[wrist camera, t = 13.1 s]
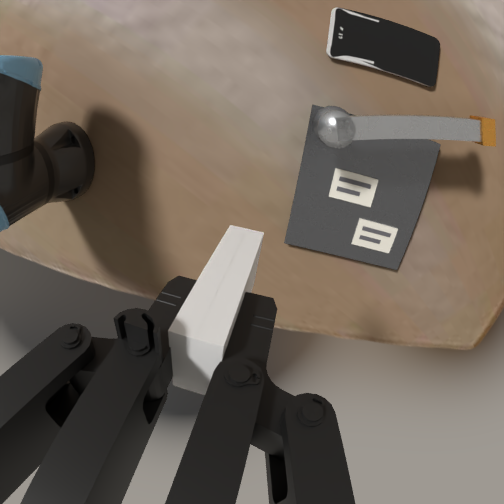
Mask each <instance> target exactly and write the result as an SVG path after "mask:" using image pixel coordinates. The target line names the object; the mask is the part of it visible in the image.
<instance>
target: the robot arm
mask: <svg viewBox="0 0 504 504" xmlns="http://www.w3.org/2000/svg"><path fill="white" fill-rule="evenodd" d="M42 71H43V65H42V63H41V61H40V60H39V59H37V58H32V57H24V56H8V55H0V232H1V231H2V230H4V229H8V228H9V226H10V225H12V224H14V223H15V222H17V221H18V220H20V219H21V218H23V217H25V216H26V215H28V214H30V213H31V212H33V211H35V210H36V209H38V208H40V207H41V206H43V205H45V204H47V203H51V202H61V201H70V200H73V199H75V198H77V197H79V196H80V195H82V194H83V193H85V192H86V190H87V189H88V188H89V186H90V184H91V182H92V178H93V174H94V154H93V150H92V146H91V143H90V141H89V139H88V137H87V135H86V134H85V132H84V131H83V130H82V129H81V128H80V127H79V126H78V125H76V124H75V123H72V122H61V123H57V124H54V125H52V126H50V127H49V128H47V129H46V130H45V131H43V132H42V133H41V134H39V135H38V136H37V137H36V138H34V135H35V124H36V115H37V107H38V100H39V94H40V91H41V86H40V85H41V78H42ZM263 235H264V233H263V232H259V231H255V230H250V229H246V228H241V227H236V226H232V225H230V226H229V228H228V230H227V231H226V233H225V235H224V236H223V238H222V240H221V241H220V243H219V245H218V246H217V248H216V250H215V251H214V253H213V255H212V256H211V258H210V260H209V261H208V263H207V265H206V266H205V268H204V270H203V271H202V273H201V275H200V276H199V278H198V280H193V279H190V278H186V277H182V276H177V277H176V278H174V279H173V280H171V281H169V282H168V283H167V285H166V286H165V287H164V289H163V290H162V293H160V295H159V296H158V297H157V300H156V301H155V302H154V303H153V305H152V306H151V308H150V309H149V311H147V310H143V309H138V308H135V309H127V310H125V311H122V312H120V313H119V314H118V315H117V316H115V317H114V322H115V326H116V330H117V335H118V338H117V339H107V338H97V337H91V334H90V332H89V331H88V329H87V328H86V327H84V326H82V325H80V324H73V323H72V324H67V325H64V326H62V327H61V328H59V329H57V330H56V331H55V332H54V333H52V334H51V335H50V336H49V337H47V338H46V339H45V340H44V341H42V342H41V343H40V344H39V345H37V346H36V347H35V348H34V349H33V350H31V351H30V352H29V353H27V354H26V355H25V356H24V357H23V358H21V359H20V360H19V361H18V362H17V363H15V364H14V365H13V366H12V367H11V368H10V369H8V370H7V371H6V372H5V373H4V374H2V375H1V376H0V504H2V503H3V502H4V501H5V500H6V499H7V498H8V497H9V496H10V495H11V494H12V493H13V492H14V491H15V490H16V489H17V488H18V487H19V486H20V485H21V484H22V483H23V482H24V481H25V480H26V479H27V478H28V477H29V476H30V474H32V473H33V472H34V471H35V470H36V469H37V467H39V468H38V470H37V472H36V474H35V476H34V478H33V480H32V482H31V484H30V486H29V488H28V489H27V492H26V494H25V495H24V498H23V500H22V502H21V504H121V503H122V500H123V498H124V496H125V494H126V491H127V489H128V487H129V484H130V482H131V479H132V477H133V475H134V473H135V470H136V468H137V466H138V463H139V461H140V459H141V456H142V454H143V452H144V449H145V447H146V445H147V443H148V440H149V438H150V436H151V434H152V431H153V429H154V427H155V424H156V422H157V420H158V418H159V415H160V413H161V411H162V409H163V406H164V404H165V402H166V400H167V394H168V393H167V387H168V385H169V383H170V381H171V379H172V382H173V386H177V387H180V388H183V389H186V390H189V391H192V392H195V393H199V394H202V395H205V397H204V400H203V402H202V405H201V408H200V411H199V413H198V416H197V419H196V422H195V424H194V427H193V430H192V432H191V435H190V438H189V440H188V443H187V446H186V449H185V452H184V454H183V457H182V460H181V462H180V465H179V468H178V470H177V473H176V476H175V478H174V481H173V484H172V487H171V489H170V492H169V495H168V497H167V500H166V503H165V504H235V503H236V499H237V495H238V491H239V488H240V484H241V480H242V476H243V472H244V468H245V464H246V459H247V455H248V451H249V447H250V444H251V445H253V446H255V447H257V448H259V449H261V450H263V451H264V452H265V458H266V468H267V469H266V470H267V482H268V495H269V504H355V500H354V495H353V491H352V486H351V480H350V476H349V471H348V467H347V462H346V457H345V453H344V448H343V444H342V439H341V435H340V431H339V427H338V422H337V418H336V414H335V411H334V409H333V407H332V405H331V404H330V403H329V402H328V401H327V400H326V399H325V398H323V397H321V396H319V395H317V394H311V393H304V394H299V395H297V396H293V395H291V394H289V393H287V392H285V391H283V390H282V389H280V388H279V387H277V386H276V385H275V384H274V383H273V382H272V381H271V380H270V378H269V376H268V374H267V370H266V363H267V358H268V353H269V348H270V343H271V338H272V333H273V328H274V323H275V318H276V312H277V307H276V305H275V302H274V299H273V298H270V297H266V296H262V295H257V294H253V293H251V291H252V288H253V285H254V281H255V276H256V271H257V266H258V260H259V255H260V250H261V245H262V240H263ZM40 464H41V465H40ZM39 465H40V466H39Z"/></svg>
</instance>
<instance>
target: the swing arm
mask: <svg viewBox="0 0 504 504" xmlns="http://www.w3.org/2000/svg"><path fill="white" fill-rule="evenodd" d="M317 128H318V134H319V137H320V139H321V140H322V141H323V142H324V143H325V144H326V145H328V146H330V147H333V148H343V147H346V146H348V145H349V144H350V143H351V142H352V141H353V140H372V139H442V140H462V141H472V142H475V143H478V144H481V145H484V146H495V147H496V134H495V119H490V118H485V117H479V116H470V118H460V117H448V116H430V115H358V116H349V115H347V114H346V113H344V112H341V111H336V110H332V111H328V112H326V113H324V114H323V115H322V116H321V117H320V119H319V121H318V125H317Z"/></svg>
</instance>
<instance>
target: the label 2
mask: <svg viewBox="0 0 504 504" xmlns="http://www.w3.org/2000/svg"><path fill="white" fill-rule="evenodd" d="M397 231H398V228H394V227H391V226H387V225H383V224H380V223H376V222H373V221H369V220H365V219H361V218H359V221H358V224H357V227H356V231H355V234H354V237H353V240H352V244H354V245H358V246H362V247H366V248H370V249H374V250H377V251H381V252H385V253H389V252H390V249H391V247H392V244H393V242H394V239H395V236H396V234H397Z"/></svg>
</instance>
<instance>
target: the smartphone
mask: <svg viewBox="0 0 504 504" xmlns="http://www.w3.org/2000/svg"><path fill="white" fill-rule="evenodd" d="M439 50H440V43H439V41H438V40H437V39H436V38H435V37H432V36H430V35H427V34H425V33H422V32H420V31H417V30H415V29H412V28H409V27H406V26H404V25H401V24H398V23H395V22H392V21H389V20H385V19H382V18H379V17H375V16H371V15H368V14H364V13H360V12H356V11H352V10H347V9H343V8H334V9H333V10H332V12H331V20H330V28H329V36H328V43H327V50H326V53H327V55H328V56H329V57H330V58H334V59H338V60H343V61H347V62H351V63H355V64H359V65H363V66H367V67H371V68H374V69H378V70H381V71H385V72H388V73H391V74H394V75H397V76H400V77H403V78H406V79H409V80H412V81H415V82H417V83H420V84H423V85H425V86H428V87H431V86H434V85H435V83H436V76H437V69H438V60H439Z"/></svg>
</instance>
